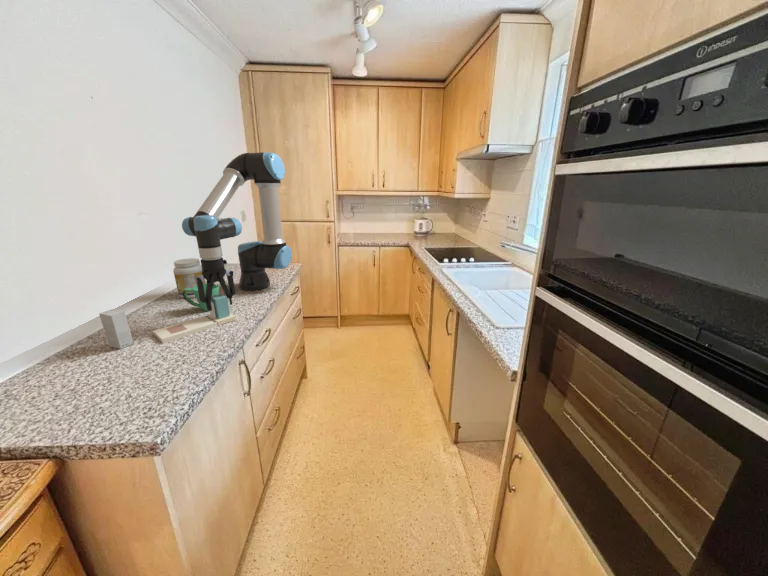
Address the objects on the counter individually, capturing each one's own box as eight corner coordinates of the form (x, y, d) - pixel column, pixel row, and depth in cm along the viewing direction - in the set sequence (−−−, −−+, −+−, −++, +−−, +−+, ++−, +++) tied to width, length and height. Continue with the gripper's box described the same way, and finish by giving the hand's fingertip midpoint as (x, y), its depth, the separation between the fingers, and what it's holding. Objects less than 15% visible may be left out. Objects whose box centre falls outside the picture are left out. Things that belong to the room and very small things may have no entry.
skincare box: (134, 343, 107) (125, 311, 103) (120, 349, 103) (110, 316, 99) (122, 340, 109) (112, 308, 105) (108, 346, 105) (98, 313, 101)
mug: (225, 304, 141) (222, 283, 138) (216, 313, 132) (212, 290, 129) (191, 305, 140) (187, 284, 137) (180, 314, 130) (175, 291, 127)
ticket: (206, 318, 126) (206, 315, 126) (217, 325, 120) (216, 322, 119) (153, 334, 113) (152, 330, 113) (163, 343, 107) (162, 339, 106)
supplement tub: (178, 293, 155) (171, 259, 149) (206, 289, 161) (200, 256, 156) (179, 300, 145) (171, 265, 140) (208, 295, 151) (202, 261, 146)
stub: (225, 313, 131) (221, 291, 128) (236, 319, 125) (232, 297, 122) (207, 318, 126) (203, 296, 123) (218, 325, 120) (214, 302, 117)
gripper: (231, 252, 127) (239, 306, 134) (180, 260, 114) (192, 319, 121) (240, 255, 122) (248, 310, 130) (188, 264, 109) (200, 325, 116)
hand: (221, 314), depth 125 cm, fingers closed on stub, 5 cm apart
